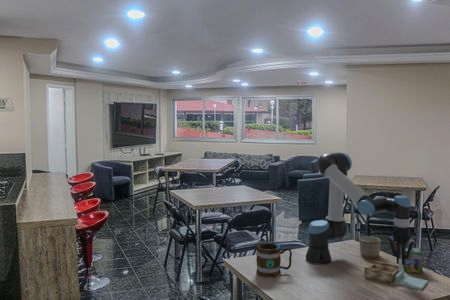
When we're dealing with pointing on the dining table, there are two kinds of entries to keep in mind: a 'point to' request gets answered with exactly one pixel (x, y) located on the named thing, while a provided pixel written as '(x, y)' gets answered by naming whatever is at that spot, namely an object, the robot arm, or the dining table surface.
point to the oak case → (381, 271)
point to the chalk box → (414, 261)
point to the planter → (369, 246)
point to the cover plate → (409, 281)
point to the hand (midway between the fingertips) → (400, 270)
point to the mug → (270, 260)
